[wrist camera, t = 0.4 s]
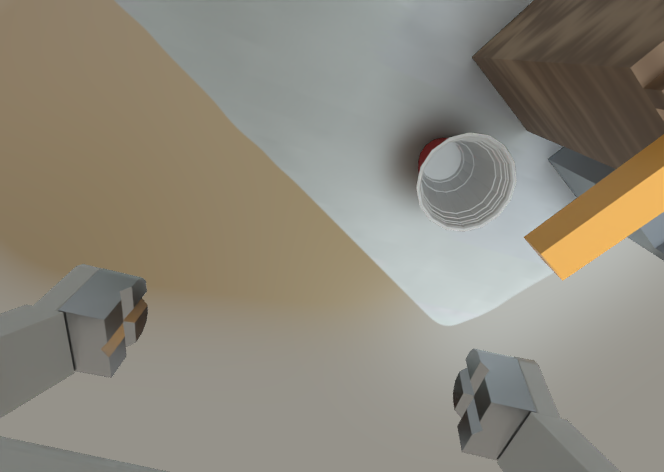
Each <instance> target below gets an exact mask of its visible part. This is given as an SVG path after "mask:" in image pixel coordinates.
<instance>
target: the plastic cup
mask: <svg viewBox="0 0 664 472" xmlns="http://www.w3.org/2000/svg"><path fill="white" fill-rule="evenodd" d="M418 164H419V166H418V172H419V176H418V180H417V185H416V189H417V195H418V200H419V205H420V207H421V209H422V210H423V211H424V213H425V214H426V216H427V217H428V218H429V220H430V221H432V222H433V223H435V224H437V225H438V226H440V227H442V228H444V229H445V230H453V231H461V232H465V231H469V230H473V229H477V228H481V227H483V226H485V225H486V224H488V223H489V222H491V221H492V220H494V219H495V218H497V217H498V216H499V215H500V214H501V213H502V211H503V210H504V209H505V207H506V206H507V205H508V203H509V202H510V201H511V198H512V195H513V191H514V188H515V185H516V181H517V180H516V170H515V162H514V160H513V158H512V156H511V155H510V153H509V151H508V150H507V148H506V146H505V145H503V144H502V143H500V142H499V141H497V140H496V139H494V138H493V137H491V136H490V135H484V134H478V133H471V132H469V133H465V134H461V135H457V136H454V137H450V138H439V139H435V140H433V141H431V142H430V143H429V144H427V145H426V146H425V147H424V149H423V150H422V152H421V153H420V157H419V161H418Z"/></svg>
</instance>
